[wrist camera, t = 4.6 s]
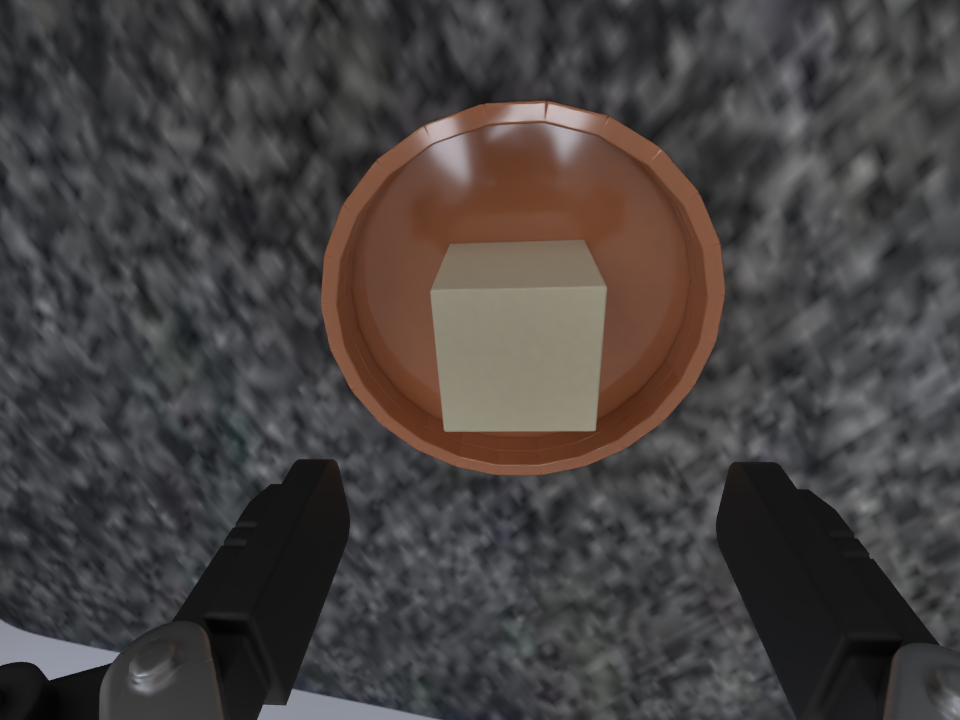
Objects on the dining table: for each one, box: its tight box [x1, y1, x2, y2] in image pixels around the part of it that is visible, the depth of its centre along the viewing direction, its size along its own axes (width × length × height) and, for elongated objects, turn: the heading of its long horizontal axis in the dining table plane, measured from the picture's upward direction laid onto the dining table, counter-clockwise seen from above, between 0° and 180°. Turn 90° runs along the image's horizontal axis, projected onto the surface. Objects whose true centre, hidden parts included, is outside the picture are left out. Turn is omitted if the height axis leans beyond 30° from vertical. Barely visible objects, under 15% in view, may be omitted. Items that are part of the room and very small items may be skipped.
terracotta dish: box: [321, 100, 725, 475], centre depth 19 cm, size 14×14×2 cm
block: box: [430, 240, 607, 432], centre depth 17 cm, size 5×5×5 cm
